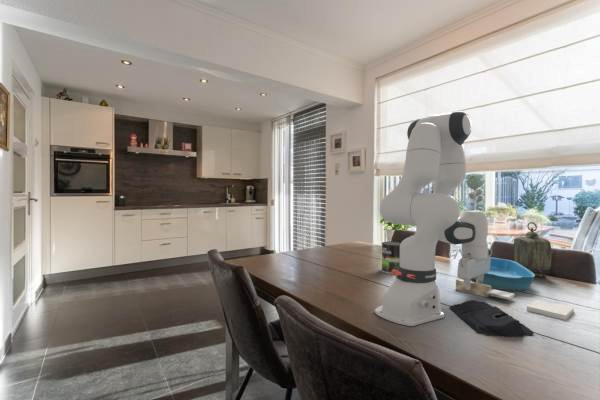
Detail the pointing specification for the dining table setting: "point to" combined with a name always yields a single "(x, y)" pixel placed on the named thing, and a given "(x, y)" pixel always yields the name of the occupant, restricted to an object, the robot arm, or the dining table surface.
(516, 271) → the casserole dish
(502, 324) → the black folded cloth
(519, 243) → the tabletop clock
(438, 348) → the dining table surface
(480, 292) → the turner
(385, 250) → the coffee can
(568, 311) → the tile
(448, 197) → the robot arm
